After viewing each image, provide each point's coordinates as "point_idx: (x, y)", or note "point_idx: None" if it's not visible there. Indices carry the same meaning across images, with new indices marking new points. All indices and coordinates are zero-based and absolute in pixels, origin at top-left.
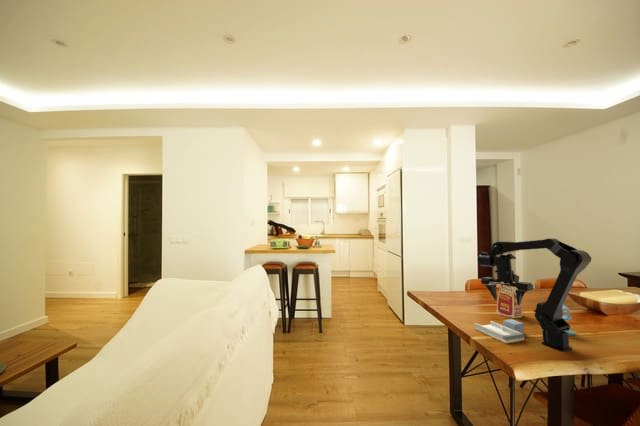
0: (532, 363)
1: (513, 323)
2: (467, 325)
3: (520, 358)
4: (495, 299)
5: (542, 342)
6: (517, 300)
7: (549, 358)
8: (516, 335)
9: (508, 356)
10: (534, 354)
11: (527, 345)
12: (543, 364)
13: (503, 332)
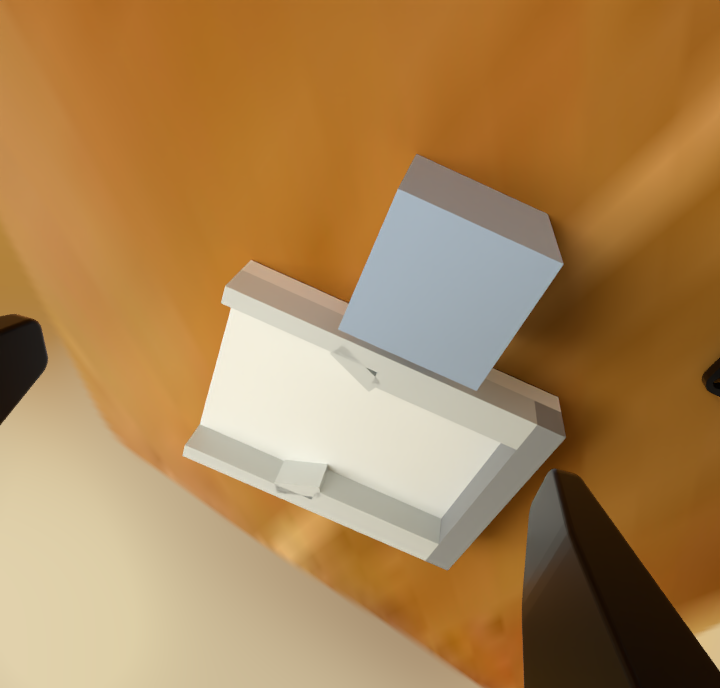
0: None
1: (455, 360)
2: (135, 389)
3: None
4: (34, 378)
5: (714, 389)
6: (539, 668)
7: (709, 585)
8: (508, 499)
9: (494, 653)
10: None
11: None
12: None
13: (394, 411)
